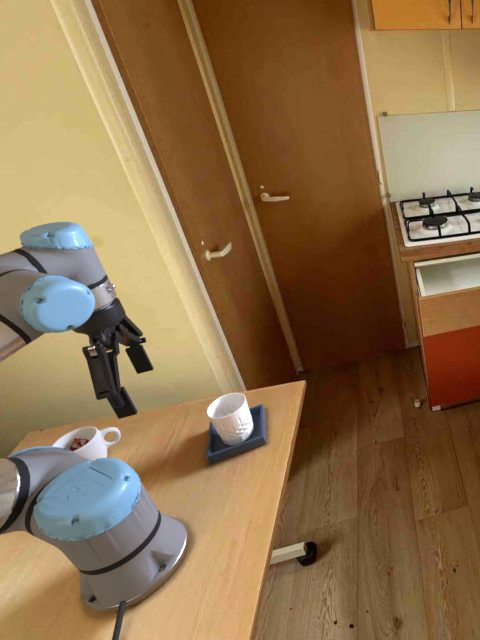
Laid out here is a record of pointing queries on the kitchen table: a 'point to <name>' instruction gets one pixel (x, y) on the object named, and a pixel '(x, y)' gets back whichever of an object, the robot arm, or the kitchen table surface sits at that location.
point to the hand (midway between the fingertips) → (137, 391)
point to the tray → (258, 438)
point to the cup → (88, 441)
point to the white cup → (231, 418)
